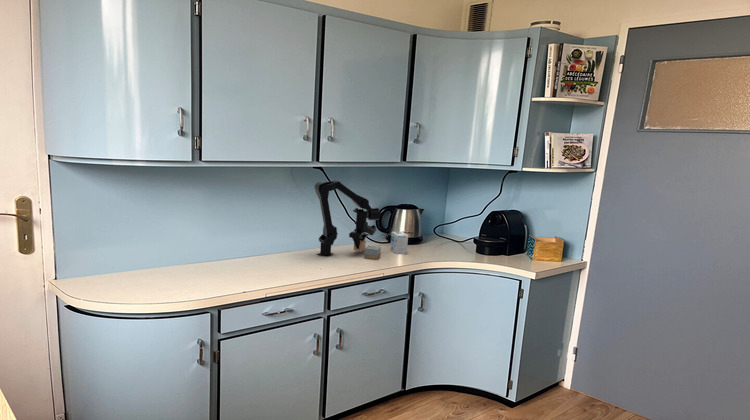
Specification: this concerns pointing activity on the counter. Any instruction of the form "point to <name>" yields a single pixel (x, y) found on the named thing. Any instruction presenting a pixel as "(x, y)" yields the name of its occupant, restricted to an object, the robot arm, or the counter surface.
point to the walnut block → (372, 256)
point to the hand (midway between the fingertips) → (359, 247)
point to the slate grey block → (372, 250)
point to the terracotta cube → (361, 247)
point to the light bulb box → (399, 242)
